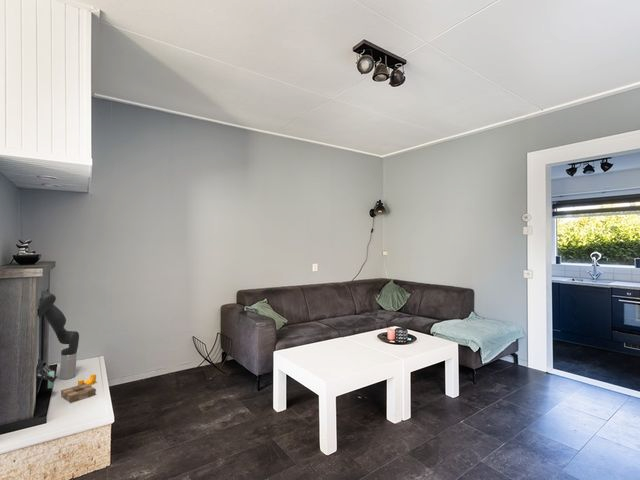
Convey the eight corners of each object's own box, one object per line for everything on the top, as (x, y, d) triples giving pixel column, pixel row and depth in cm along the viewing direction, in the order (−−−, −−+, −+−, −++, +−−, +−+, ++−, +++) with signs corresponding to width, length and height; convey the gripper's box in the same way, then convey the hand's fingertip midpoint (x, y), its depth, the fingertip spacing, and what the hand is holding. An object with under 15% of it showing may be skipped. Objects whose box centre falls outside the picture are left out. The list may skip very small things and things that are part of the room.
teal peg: (46, 387, 215) (47, 371, 215) (52, 385, 217) (53, 370, 217) (48, 388, 213) (49, 373, 213) (54, 387, 216) (55, 371, 215)
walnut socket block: (60, 396, 215) (61, 390, 215) (85, 389, 227) (85, 383, 227) (70, 403, 208) (71, 396, 208) (95, 395, 220) (95, 389, 220)
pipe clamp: (90, 382, 238) (90, 373, 238) (95, 383, 237) (96, 374, 237) (75, 390, 226) (75, 380, 226) (80, 390, 225) (81, 381, 225)
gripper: (33, 362, 206) (56, 380, 210) (42, 354, 219) (63, 371, 223) (21, 371, 204) (45, 389, 208) (31, 363, 217) (53, 380, 221)
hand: (54, 379), depth 216 cm, fingers closed on teal peg, 3 cm apart
